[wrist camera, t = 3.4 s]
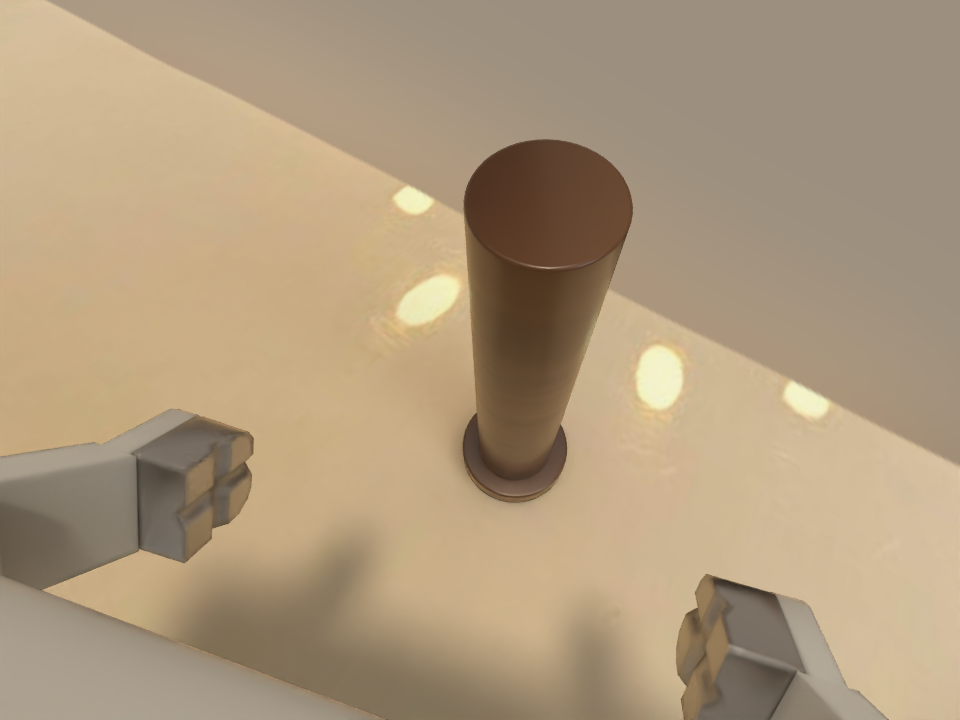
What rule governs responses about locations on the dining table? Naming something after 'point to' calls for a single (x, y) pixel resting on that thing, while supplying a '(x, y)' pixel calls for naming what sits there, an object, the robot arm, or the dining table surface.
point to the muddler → (535, 301)
